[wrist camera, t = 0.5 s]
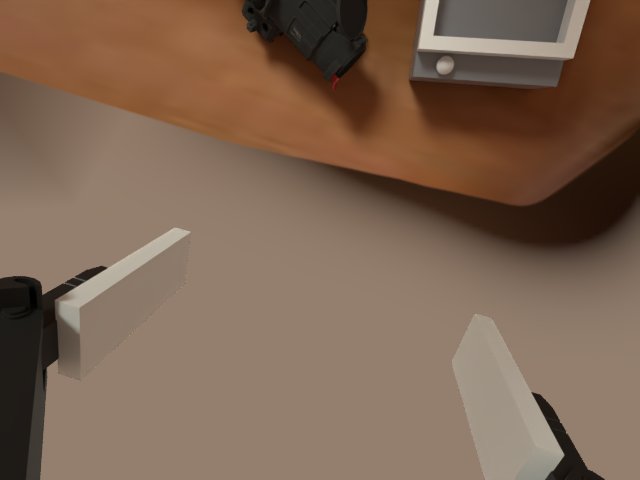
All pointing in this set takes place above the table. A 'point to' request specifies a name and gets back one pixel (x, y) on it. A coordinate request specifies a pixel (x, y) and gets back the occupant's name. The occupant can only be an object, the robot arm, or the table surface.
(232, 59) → the table surface
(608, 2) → the table surface
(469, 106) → the table surface
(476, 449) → the robot arm
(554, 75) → the grey tray
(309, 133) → the table surface
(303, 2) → the night vision scope
